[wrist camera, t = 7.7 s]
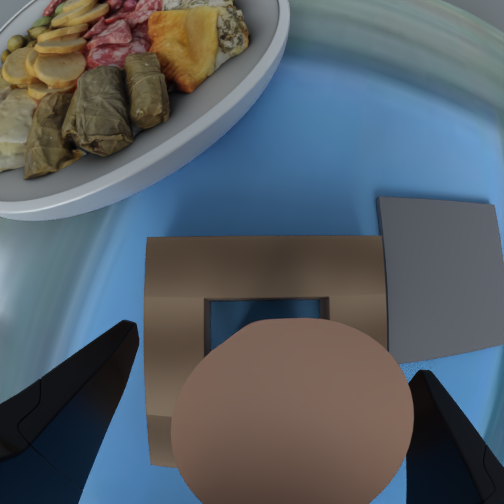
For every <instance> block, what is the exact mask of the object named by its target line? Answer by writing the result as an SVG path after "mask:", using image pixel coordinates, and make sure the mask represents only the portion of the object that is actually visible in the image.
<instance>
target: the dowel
mask: <svg viewBox="0 0 504 504" xmlns="http://www.w3.org/2000/svg"><path fill="white" fill-rule="evenodd" d="M413 422H414V410H413V401H412V395H411V391H410V388H409V385H408V382H407V379H406V377H405V375H404V373H403V372H402V370H401V368H400V366H399V365H398V363H397V362H396V361H395V359H394V358H393V357H392V355H391V354H390V353H389V352H388V351H387V350H386V349H385V348H384V347H383V346H382V345H381V344H379V343H378V342H377V341H375V340H374V339H373V338H371V337H370V336H368V335H367V334H365V333H363V332H361V331H359V330H357V329H355V328H353V327H350V326H347V325H345V324H342V323H339V322H334V321H330V320H325V319H316V318H286V319H265V320H258V321H254V322H251V323H249V324H247V325H246V326H244V327H243V328H242V329H240V330H239V331H238V332H236V333H235V334H234V335H232V336H231V337H230V338H228V339H227V340H226V341H224V342H223V343H222V344H220V345H219V346H218V347H216V348H215V349H214V350H212V351H211V352H210V353H209V354H208V355H207V356H206V357H205V358H204V359H203V360H202V361H201V362H200V363H199V364H198V365H197V366H196V367H195V369H194V370H193V371H192V373H191V374H190V375H189V377H188V378H187V380H186V382H185V383H184V385H183V387H182V389H181V391H180V393H179V396H178V398H177V401H176V403H175V407H174V411H173V415H172V422H171V444H172V450H173V455H174V459H175V462H176V465H177V467H178V470H179V472H180V474H181V476H182V478H183V479H184V481H185V483H186V484H187V486H188V487H189V489H190V490H191V491H192V492H193V494H194V495H195V496H196V497H197V498H198V499H199V500H200V501H201V502H202V503H203V504H369V503H370V502H371V501H372V500H373V499H374V498H376V497H377V496H378V495H379V494H380V493H381V492H382V491H383V490H384V488H385V487H386V486H387V485H388V484H389V483H390V481H391V480H392V479H393V477H394V476H395V474H396V473H397V471H398V470H399V468H400V466H401V464H402V462H403V460H404V458H405V456H406V453H407V450H408V448H409V445H410V441H411V437H412V432H413Z"/></svg>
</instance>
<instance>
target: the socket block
mask: <svg viewBox="0 0 504 504" xmlns="http://www.w3.org/2000/svg"><path fill="white" fill-rule="evenodd" d="M276 300H319V319H325V320H330V321H334V322H339V323H342V324H345V325H347V326H350V327H353V328H355V329H357V330H359V331H361V332H363V333H365V334H367V335H368V336H370V337H371V338H373V339H374V340H375V341H377V342H378V343H379V344H381V345H382V346H383V347H384V348H385V349H386V350H387V311H386V287H385V271H384V258H383V246H382V236H189V237H147V245H146V262H145V286H144V376H145V399H146V415H147V429H148V441H149V451H150V461H151V465H156V466H164V467H172V468H178V467H177V465H176V462H175V459H174V455H173V450H172V444H171V422H172V415H173V411H174V407H175V403H176V401H177V398H178V396H179V393H180V391H181V389H182V387H183V385H184V383H185V382H186V380H187V378H188V377H189V375H190V374H191V373H192V371H193V370H194V369H195V367H196V366H197V365H198V364H199V363H200V362H201V361H202V360H203V359H204V358H205V357H206V356H207V355H208V354H209V353H210V352H211V339H210V301H276Z"/></svg>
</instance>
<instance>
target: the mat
mask: <svg viewBox="0 0 504 504" xmlns="http://www.w3.org/2000/svg"><path fill="white" fill-rule="evenodd" d="M376 203H377V211H378V219H379V229H380V236H382V246H383V258H384V271H385V287H386V311H387V351H388V352H389V353H390V354H391V355H392V357H393V358H394V359H395V361H396V362H397V363H398V364H403V363H410V362H417V361H423V360H430V359H435V358H441V357H447V356H452V355H457V354H462V353H467V352H472V351H477V350H481V349H486V348H490V347H494V346H498V345H503V344H504V263H503V254H502V247H501V240H500V234H499V228H498V222H497V216H496V211H495V206H494V205H491V204H481V203H471V202H459V201H447V200H433V199H418V198H402V197H382V196H379V197H378V198H377V199H376Z"/></svg>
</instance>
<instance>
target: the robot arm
mask: <svg viewBox="0 0 504 504" xmlns="http://www.w3.org/2000/svg"><path fill="white" fill-rule="evenodd" d="M138 347H139V335H138V329H137V324H136V323H135V322H132V321H128V320H122V321H121V322H119V323H118V324H116V325H115V326H113V327H112V328H111V329H109V330H108V331H106V332H105V333H103V334H102V335H101V336H99V337H98V338H96V339H95V340H93V341H92V342H91V343H89V344H88V345H86V346H85V347H83V348H82V349H81V350H79V351H78V352H76V353H75V354H74V355H72V356H71V357H69V358H68V359H67V360H65V361H64V362H62V363H61V364H59V365H58V366H57V367H55V368H54V369H52V370H51V371H50V372H48V373H47V374H45V375H44V376H43V377H41V379H38V380H37V381H36V382H34V383H33V384H31V385H30V386H28V387H27V388H26V389H24V390H23V391H21V392H20V393H18V394H16V395H15V396H13V397H11V398H10V399H8V400H6V401H4V402H3V403H1V404H0V504H78V503H79V500H80V497H81V495H82V492H83V489H84V486H85V484H86V481H87V479H88V476H89V473H90V471H91V468H92V466H93V463H94V461H95V458H96V456H97V453H98V451H99V448H100V446H101V444H102V441H103V439H104V436H105V434H106V432H107V429H108V427H109V424H110V422H111V420H112V417H113V415H114V413H115V410H116V408H117V406H118V404H119V401H120V399H121V397H122V395H123V392H124V390H125V387H126V384H127V381H128V378H129V375H130V372H131V369H132V365H133V362H134V359H135V356H136V353H137V350H138ZM408 385H409V388H410V391H411V395H412V401H413V410H414V422H413V432H412V437H411V441H410V445H409V448H408V450H407V453H406V470H407V494H406V504H504V467H503V466H502V464H501V463H500V462H499V461H498V459H497V458H496V457H495V455H494V454H493V453H492V451H491V450H490V448H489V447H488V446H487V445H486V443H485V441H484V440H483V439H482V437H481V436H480V434H479V433H478V432H477V430H476V429H475V428H474V426H473V425H472V424H471V422H470V421H469V419H468V418H467V417H466V415H465V414H464V413H463V411H462V410H461V409H460V407H459V406H458V405H457V403H456V402H455V401H454V400H453V398H452V397H451V396H450V394H449V393H448V392H447V390H446V389H445V388H444V387H443V385H442V384H441V383H440V381H439V380H438V379H437V378H436V376H435V375H434V374H433V373H432V372H431V371H430V370H419V371H418V372H417V373H416V374H415V375H414V377H413V378H412V379H411V381H410V382H409V383H408Z"/></svg>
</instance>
